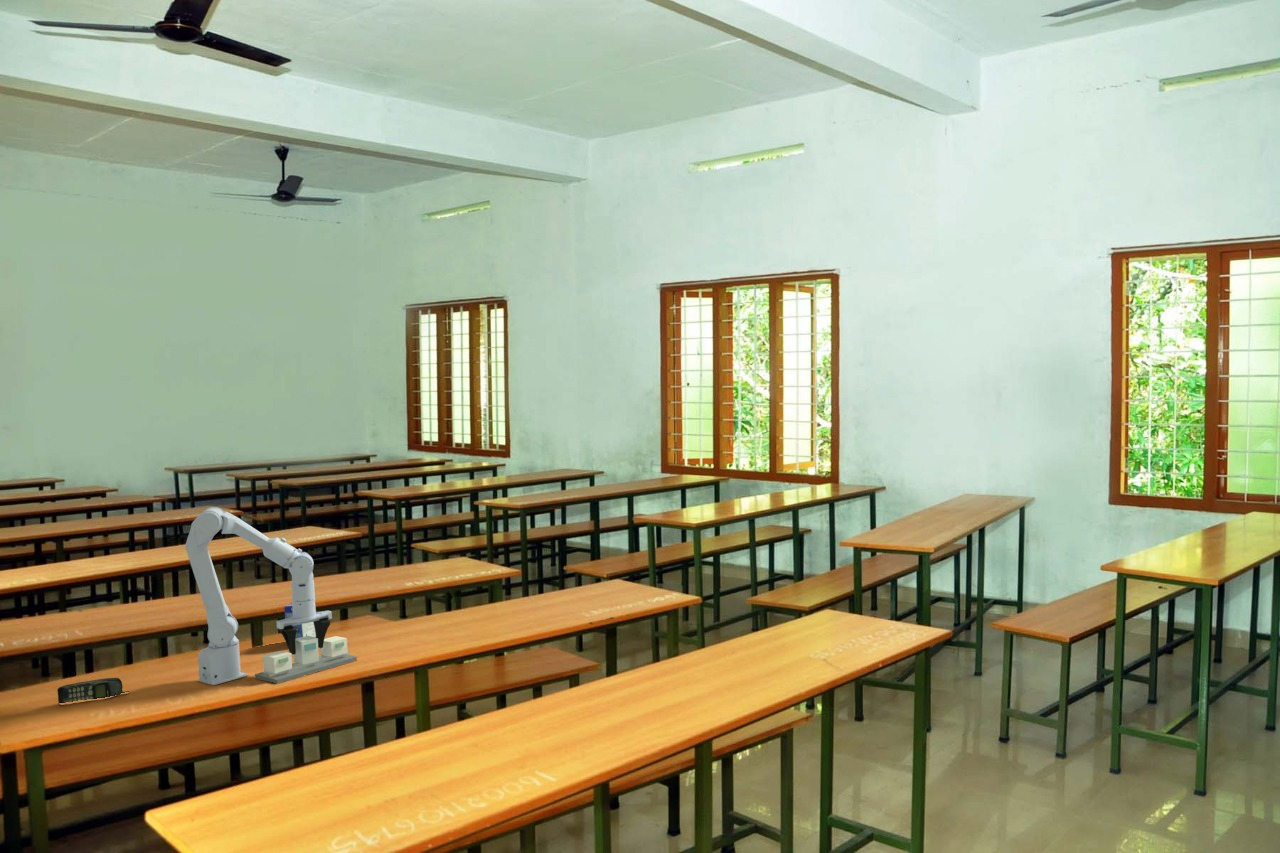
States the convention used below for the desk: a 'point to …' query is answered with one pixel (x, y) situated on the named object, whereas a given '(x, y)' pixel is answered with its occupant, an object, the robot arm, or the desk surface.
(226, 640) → the robot arm
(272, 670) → the mounted modules
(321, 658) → the din rail
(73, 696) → the mobile phone
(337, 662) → the din board
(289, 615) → the ink cartridge box
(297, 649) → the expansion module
